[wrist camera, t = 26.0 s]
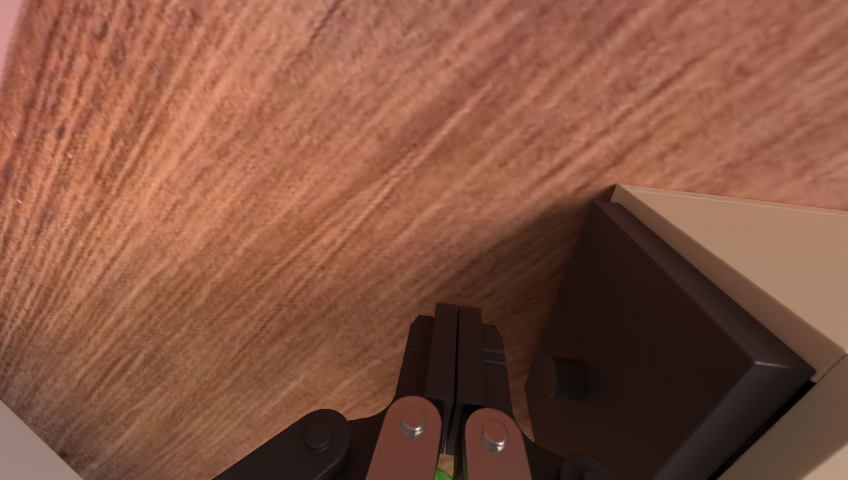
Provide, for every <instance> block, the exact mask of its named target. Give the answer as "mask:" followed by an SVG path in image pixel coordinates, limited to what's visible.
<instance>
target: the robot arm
mask: <svg viewBox="0 0 848 480" xmlns="http://www.w3.org/2000/svg"><path fill="white" fill-rule="evenodd" d="M445 442H446V454H448V455H454V472H453V478H452V480H622V479H621V478H620V477H619V476H618V475H617V474H616V473H615V472H614V471H613V470H612V469H611V468H610V467H609V466H608V465H607V464H605V463H604V462H603V461H601V460H599V459H598V458H596V457H594V456H592V455H589V454H585V453H574V454H571V455H569V456H568V457H566V459H564V458H562V457H560V456H558V455H556V454H554V453H552V452H550V451H548V450H546V449H544V448H542V447H540V446H539V445H537V444H535V443H534V442H532V441H531V440H530V439H529V438H528V437H527V436H526V435H525V434H524V433H523V432H522V431H521V429H520V428H519V426H518V425H517V423H516V421H515V419H514V416H513V412H512V405H511V398H510V390H509V383H508V375H507V368H506V360H505V355H504V345H503V338H502V337H501V335H500V333H499V332H498V330H497V329H496V327H495V326H494V325H487V324H482V322H481V309H480V308H478V307H471V306H464V305H459V306H458V311H457V305H456V304H449V303H442V302H436V310H435V317H431V316H424V315H419V316H418V317H417V318H416V319H415V320H414V322H413V323H412V324H411V326H410V330H409V335H408V340H407V344H406V349H405V353H404V358H403V362H402V367H401V371H400V376H399V380H398V385H397V389H396V393H395V396H394V398H393V400H392V402H391V403H390V405H389V406H388V407H387V408H386V409H384V410H383V411H382V412H380V413H378V414H377V415H374V416H371V417H367V418H362V419H356V420H350V421H347V420H346V418H345V417H344V416H343V415H342V414H341V413H339V412H337V411H335V410H331V409H320V410H316V411H313V412H311V413H309V414H307V415H305V416H304V417H302V418H301V419H299V420H298V421H296V422H295V423H293V424H292V425H291V426H289V427H288V428H286V429H285V430H283V431H282V432H280V433H279V434H277V435H276V436H275V437H273V438H272V439H270V440H269V441H267V442H266V443H264V444H263V445H261V446H260V447H259V448H257V449H256V450H254V451H253V452H251V453H250V454H248V455H247V456H245V457H244V458H243V459H241V460H240V461H238V462H237V463H235V464H234V465H232V466H231V467H229V468H228V469H227V470H225V471H224V472H222V473H221V474H219V475H218V476H216V477H215V478H214V479H212V480H435V476H436V470H437V465H438V460H439V455H440V453H441V454H443V452H444V447H445Z"/></svg>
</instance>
